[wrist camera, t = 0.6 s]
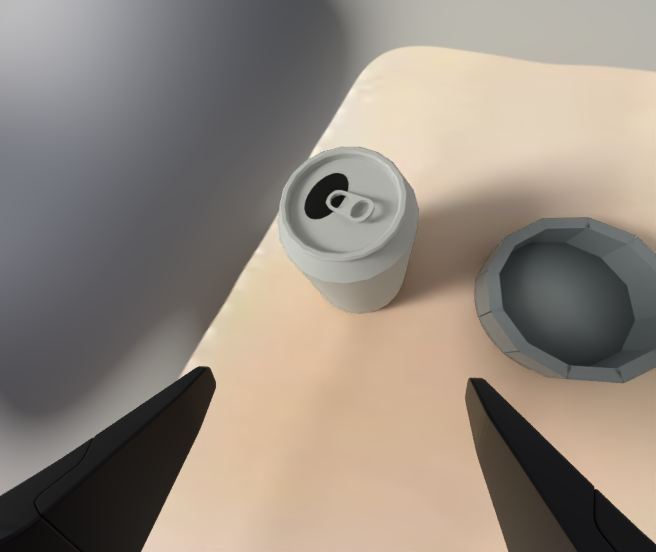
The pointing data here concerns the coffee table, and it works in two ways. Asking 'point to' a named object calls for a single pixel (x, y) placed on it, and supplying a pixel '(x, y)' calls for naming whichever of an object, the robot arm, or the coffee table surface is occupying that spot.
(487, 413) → the robot arm
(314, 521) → the coffee table surface
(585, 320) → the ring holder
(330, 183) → the can
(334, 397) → the coffee table surface
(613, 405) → the coffee table surface
